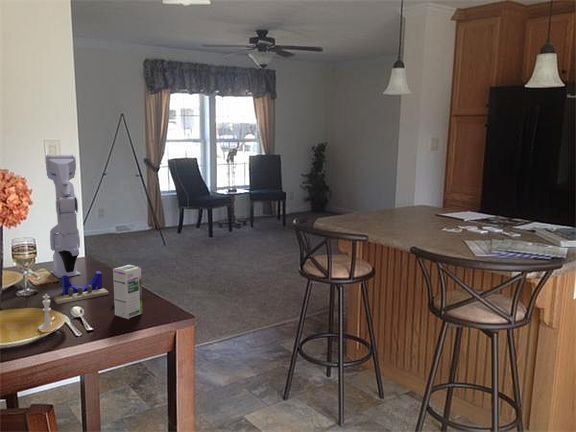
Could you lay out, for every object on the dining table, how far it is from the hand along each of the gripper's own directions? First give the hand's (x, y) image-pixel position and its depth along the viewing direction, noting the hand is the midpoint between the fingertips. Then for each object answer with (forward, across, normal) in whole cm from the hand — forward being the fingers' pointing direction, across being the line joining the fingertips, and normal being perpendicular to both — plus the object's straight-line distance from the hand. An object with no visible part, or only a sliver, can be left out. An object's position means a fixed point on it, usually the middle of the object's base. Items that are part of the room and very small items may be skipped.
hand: (69, 271), depth 175 cm
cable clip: (+6, +6, +2) cm, 9 cm away
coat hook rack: (+6, +12, 0) cm, 13 cm away
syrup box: (+6, +35, +6) cm, 36 cm away
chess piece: (+6, +33, -16) cm, 37 cm away
